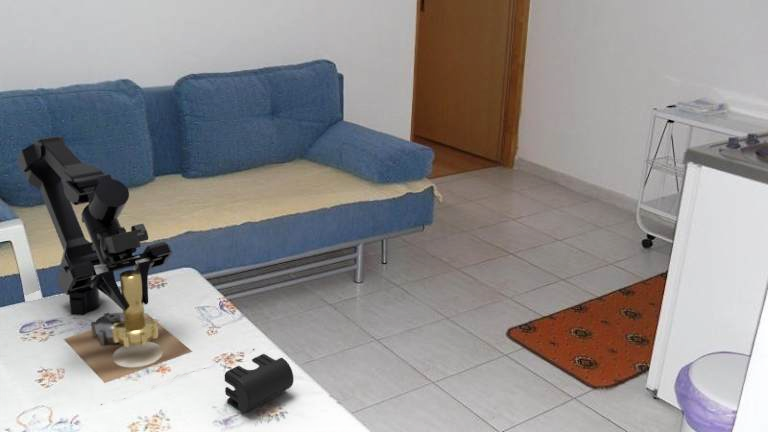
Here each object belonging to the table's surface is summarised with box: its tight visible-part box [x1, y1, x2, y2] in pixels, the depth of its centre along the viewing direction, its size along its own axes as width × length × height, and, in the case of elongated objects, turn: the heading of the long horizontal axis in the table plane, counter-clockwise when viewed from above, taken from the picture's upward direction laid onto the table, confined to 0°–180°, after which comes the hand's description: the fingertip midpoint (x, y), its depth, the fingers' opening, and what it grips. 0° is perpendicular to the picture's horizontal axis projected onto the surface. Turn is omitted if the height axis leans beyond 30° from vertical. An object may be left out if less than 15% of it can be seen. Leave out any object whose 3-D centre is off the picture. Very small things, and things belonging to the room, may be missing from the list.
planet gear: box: [112, 269, 159, 347], centre depth 139 cm, size 8×8×12 cm
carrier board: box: [63, 312, 193, 384], centre depth 147 cm, size 20×17×2 cm
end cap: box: [224, 353, 295, 413], centre depth 132 cm, size 10×7×7 cm
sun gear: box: [90, 312, 124, 347], centre depth 149 cm, size 9×8×4 cm
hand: (136, 306), depth 138 cm, fingers closed on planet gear, 4 cm apart
